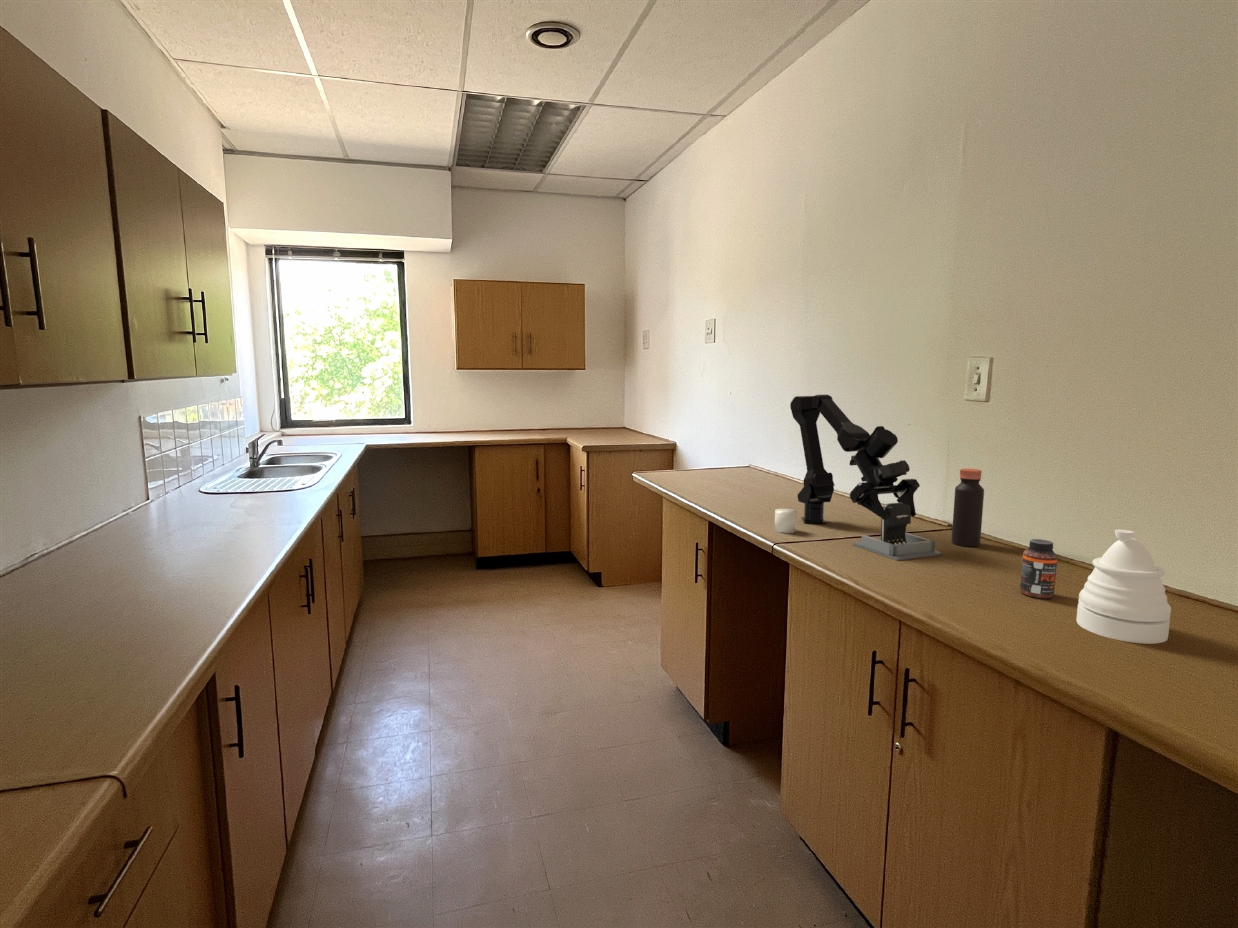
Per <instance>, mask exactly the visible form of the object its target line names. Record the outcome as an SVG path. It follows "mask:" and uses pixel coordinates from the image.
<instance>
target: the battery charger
mask: <svg viewBox="0 0 1238 928" xmlns="http://www.w3.org/2000/svg"><path fill="white" fill-rule="evenodd" d="M882 507H883V509H884V511H885V513H886V515H887V519H886V520H884V519H882V518H881V517H880V518H881V519H880V520H881V522H880V524H881V525H880V529H881V531H880V533H881V534H880V539H881V541H884V542H887V543H890V544H893V545H895V544H903V543H907V541H906V537H905V532H906V531H907V526H908V525H911V524H912V523H911V522H912V521H911V519H912V516H911V509H910V507H909V506H908V505H906V504H903V503H898V502H890V503H885V504H884V505H882ZM906 533H907V532H906Z"/></svg>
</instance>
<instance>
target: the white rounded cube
mask: <svg viewBox="0 0 1238 928" xmlns="http://www.w3.org/2000/svg"><path fill="white" fill-rule="evenodd" d="M796 531H797V510H796V509H793V508H776V509H774V532H775V533H779V532H783V533H782V534H795V533H796ZM794 532H795V533H794Z"/></svg>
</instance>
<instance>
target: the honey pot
mask: <svg viewBox="0 0 1238 928" xmlns="http://www.w3.org/2000/svg"><path fill="white" fill-rule="evenodd" d="M1134 532H1135V531H1132V530H1129V529H1114V534H1115V538H1116V541H1115V542H1114V543H1112V545H1110V546H1109V547H1108V549H1107V550H1106V551H1105V552H1104V553H1103V555H1102V556H1100V557H1097V558H1094V559H1093V560H1092V565H1093V567H1094V568H1093V570H1092V572H1091V574H1088V576H1087V581H1086V582H1085V583H1084V586H1083V588H1082V589H1081V590H1080V592H1079V594H1078V600H1077V601H1078V603H1077V610H1076V623H1077V625H1079V627H1081V628H1083V629H1084V630H1086V631H1088V632H1091V633H1093V634H1096V635H1098V636H1102V637H1105V638H1108V639H1112V640H1118V641H1122V642H1128V643H1132V644H1133V643H1134V644H1136V643H1137V644H1145V645H1147V644H1149V645H1150V644H1151V645H1152V644H1161V643H1165V642H1167V641H1168V638H1169V633H1170V632H1169V631H1170V622H1171V619H1170V618H1171V613H1172V607H1171V605H1170V604H1169V603H1168V596H1167V595H1166V588H1165V586H1164V585H1163V581H1162V577H1163V576H1165V574H1166V570H1165V569H1164V567H1162V566H1160V565H1158V564H1156V563H1155V561H1154V559H1153V557H1152V555H1151V553H1150V552H1149V551H1148V549H1147V547H1146V546H1145V545H1144V544H1143V543H1142V542H1141V541H1140V540H1139V539H1137V538H1134V537H1133V536H1134Z"/></svg>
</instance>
